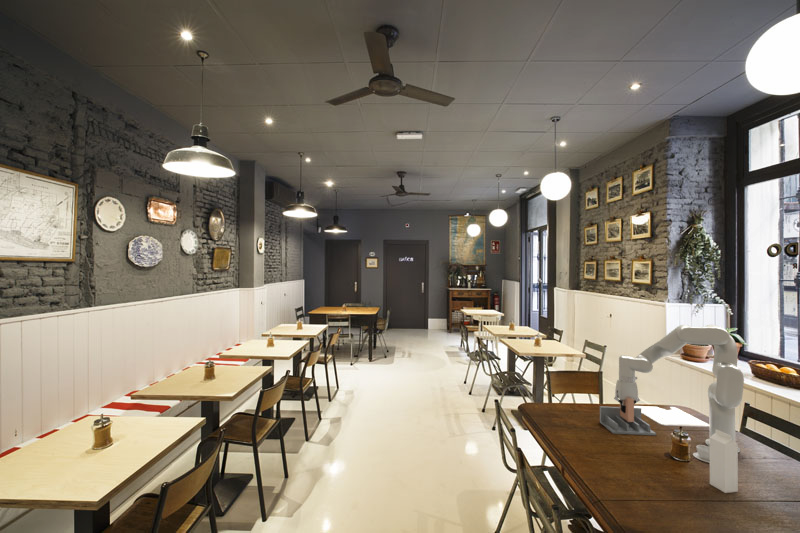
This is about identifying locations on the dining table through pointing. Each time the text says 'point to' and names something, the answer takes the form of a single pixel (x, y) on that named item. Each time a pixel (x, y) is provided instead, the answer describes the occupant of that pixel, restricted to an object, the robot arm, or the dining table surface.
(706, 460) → the teacup
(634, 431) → the dish rack
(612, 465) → the dining table surface
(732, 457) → the milk
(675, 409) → the tray
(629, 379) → the robot arm
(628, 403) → the plate block
